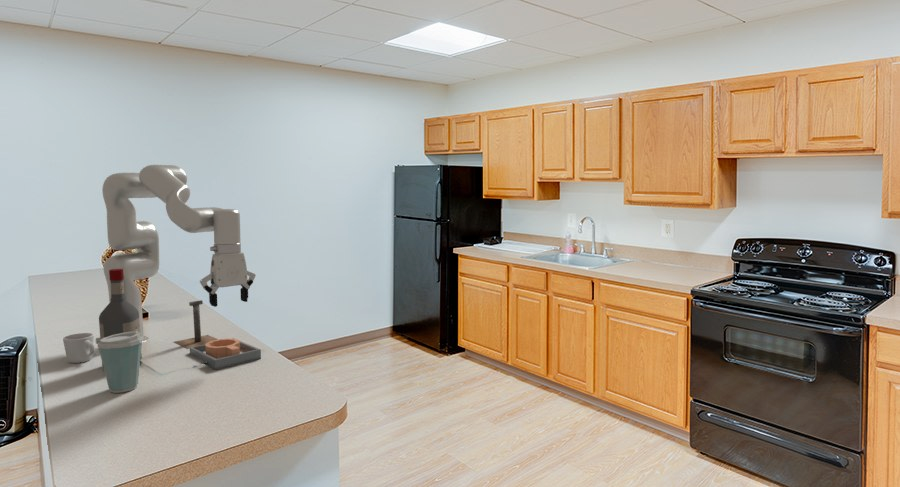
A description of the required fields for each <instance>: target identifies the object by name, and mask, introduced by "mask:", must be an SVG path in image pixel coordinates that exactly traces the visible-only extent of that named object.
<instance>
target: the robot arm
mask: <svg viewBox="0 0 900 487" xmlns="http://www.w3.org/2000/svg"><path fill="white" fill-rule="evenodd" d="M187 183H188V178H187V174H186V172H185V171H184V170H183V169H182V168H181V167H180V166H177V165H173V164H171V165H170V164H169V165H167V164H150V165H146V166H145V167H142V168H141V169H140V171H139V172H116V173H111V174H110V175H108V176H107V177H106V178H105V180H104V182H103V183H102V184H103V185H102V198H103V201H104V206H105V208H106V230H107V241H108V243H107V244H108V245H109V247H110V248H111V249H112V250H113V251H129V250H131V251H132V250H136V252H128V253H121V254H116V255H112V256H110V257H108V258H107V259H106V260H105V262H104V263H103V274H104V276H105V280H106V284H107V290H108V301H109V303H110V302H111V301H110V299H111V282H110V277H109V270H111V269H123V274H124V279H123V282H124V294H125V297H126V300H127V301H128V302H129V303H130V304H131V305H133V306H134V307H135V308H136V309H137V310H138V312H139V323H140V336H141V337H142V339H143V341H142V343H144V342H147V341H148V340H149V337H148V336H145V335H144V322H143V321H144V320H143V319H144V318H143V306H142V305H143V304H142V293H141V290H140V288H139V286H138V285H137V284H136V283H135V281H137V280H143V279H147V278H148V279H149V278H151V277H153V276H155V275H156V274H157V273H158V271H159V268H160V244H159V243H160V238H159V232H158V230H157V228H156V226H155V225H154V224H153V223H152V222H150V221H145V220H143V221H142V220H139V221H138V220H137V210H136V207H135V205H134V204H133V203H132V201H131V200H130V199H149V198H150V199H152V198H158V199H159V200H161V201H162V202H163V204H165V210H166V214H167V216H168V218H169V219H170V221H171V222H172V223H173V224H175V225H176V226H177V227H179V228H180V229H181V230H183V231H184V232H187V233H189V234H196V233H206V232H207V233H208V232H209V233H211V232H213V241H214V244H213V246H210V247H209V251H210V252H213V254H212V256H211V261H210V262H211V263H210V272H209V274H207V275H206V276H205V277H203V278H201V279H200V280H199V283H200V285H201V287H202V288H203V289H204V290H205V291H206V292H207V293H208V300H209V304H210V306H212V307H213V308H215V307H218V294H217V291H218V289H219V288H228V287H236V286H240V287H241V288H240V301H241V302H245V303H246V302H247V303H248V299H249V289H250V288H251V286H252V284H253V283H254V281H255V278H256V274H255V273H253V272H251V271H249V270H247V269H248V268H247V262H246V258H245V253H244V252H241V249H242V248H241V246H242V244H241V216H240V215H241V214H240V211H238V210H237V209H235V208H220V207H214V206H213V207H211V206H210V207H194V208H193V207H191V206H189V205H187V204H186V203H187V202H188V200H189V199H190V195H191V189H190V187H189V186H188V185H187ZM209 281H210V286H209V285H208V282H209ZM99 341H100V336H99V337H96V338H95V344H97V345H98V342H99Z"/></svg>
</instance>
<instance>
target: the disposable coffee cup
mask: <svg viewBox="0 0 900 487" xmlns="http://www.w3.org/2000/svg"><path fill="white" fill-rule="evenodd" d="M142 341H143V339H142V337H141V336H140V333H139V332H126V333H120V334H115V335H111V336H108V337H105V338H103V339H101V340H100V341H99V342H98V344H97V348H98V350H99V351H98V352H99V354H100V359H101V364H102V363H103V367H104V368H103V367H102V368H103V371H104V374H105V378H106V379H105V380H106V383H107V387H108V389H109V390H110V391H109V392H111V393H115V394H118V393H126V392H130V391H132V390H135V389H136V388H137V386H138V384H139V375H140V368H141V367H140V365H141V364H140V363H141V362H140V361H141V360H140V357H141V354H142V345H143V342H142Z"/></svg>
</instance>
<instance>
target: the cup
mask: <svg viewBox="0 0 900 487" xmlns="http://www.w3.org/2000/svg"><path fill="white" fill-rule="evenodd" d="M62 341H63V346H64V351H65V356H66V360H67V362H68V363H70V362H71V364H80V362H81V363H85V362H88V361H90V360H91V359H92V358H93V355H94V354H95V345H94V333H91V332H81V333H79V332H78V333H73V334H69V335H67V336H64V337H63V339H62Z"/></svg>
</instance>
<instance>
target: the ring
mask: <svg viewBox="0 0 900 487" xmlns="http://www.w3.org/2000/svg"><path fill="white" fill-rule="evenodd" d="M217 339H218V340H213V341H210V342H208V343H206V345H205V350H206V351H205V354H207V355H209V356H211V357H214V358H216V359H219V358H223V357H228V356H232V355H236V354H240V353H241V348H240V342H239V341H240V340H239V339H238V338H237V339H236V338H234V339H232V338H217Z"/></svg>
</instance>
